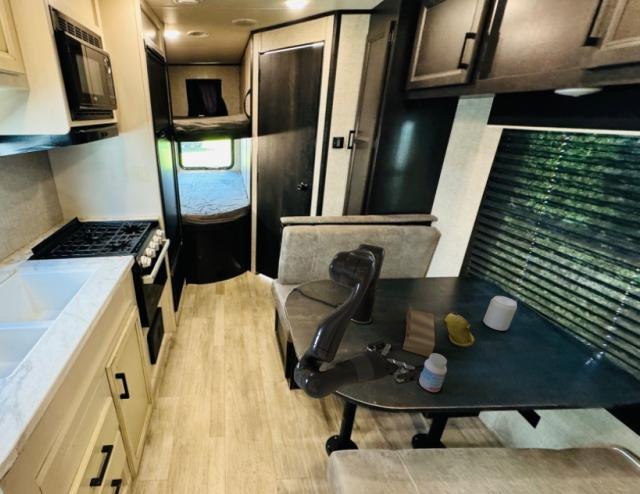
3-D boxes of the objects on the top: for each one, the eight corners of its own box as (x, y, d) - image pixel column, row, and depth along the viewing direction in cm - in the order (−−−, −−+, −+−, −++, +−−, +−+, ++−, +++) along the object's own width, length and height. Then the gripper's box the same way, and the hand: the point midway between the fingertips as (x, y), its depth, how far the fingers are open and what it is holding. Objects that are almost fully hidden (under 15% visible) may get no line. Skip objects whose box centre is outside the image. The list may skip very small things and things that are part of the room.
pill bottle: (431, 395, 97) (440, 368, 92) (414, 381, 102) (422, 354, 98) (444, 388, 99) (454, 362, 95) (427, 375, 104) (435, 349, 100)
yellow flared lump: (451, 353, 114) (463, 319, 108) (434, 338, 121) (444, 306, 115) (477, 348, 116) (491, 315, 110) (459, 334, 123) (471, 302, 117)
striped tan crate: (430, 357, 112) (436, 340, 108) (402, 349, 116) (407, 332, 112) (429, 326, 128) (434, 310, 124) (405, 320, 132) (409, 304, 128)
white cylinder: (485, 328, 126) (495, 303, 121) (481, 317, 133) (490, 293, 128) (509, 334, 123) (521, 308, 118) (504, 322, 130) (514, 298, 125)
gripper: (383, 376, 80) (434, 363, 84) (351, 340, 92) (396, 330, 96) (378, 397, 83) (427, 383, 87) (347, 359, 95) (392, 349, 99)
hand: (411, 356), depth 92 cm, fingers open, 8 cm apart
